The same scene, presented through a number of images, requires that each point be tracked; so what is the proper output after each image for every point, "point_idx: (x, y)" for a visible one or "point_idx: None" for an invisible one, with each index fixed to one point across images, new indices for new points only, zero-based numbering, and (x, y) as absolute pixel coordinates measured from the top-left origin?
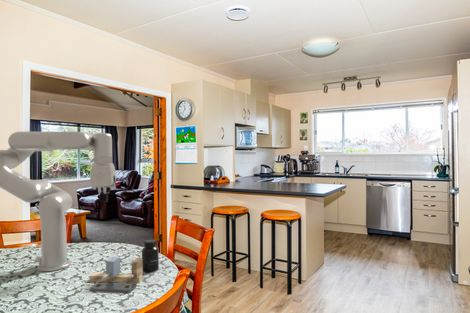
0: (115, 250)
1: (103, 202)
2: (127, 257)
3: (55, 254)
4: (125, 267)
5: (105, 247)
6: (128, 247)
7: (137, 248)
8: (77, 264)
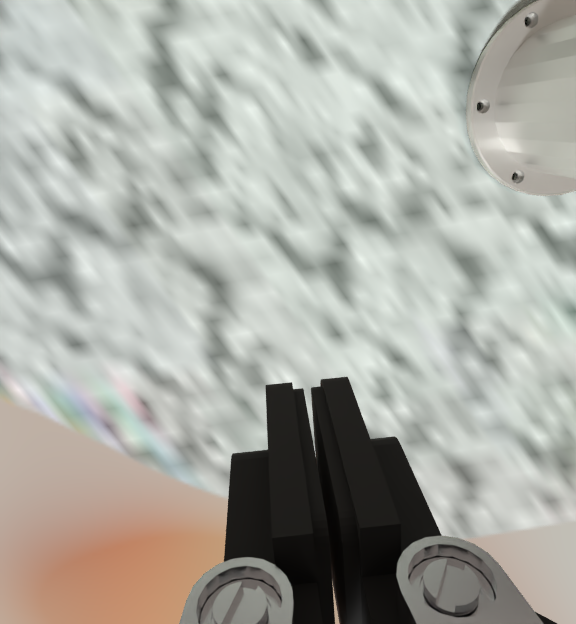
0: None
1: (274, 386)
2: (202, 334)
3: (571, 30)
4: (93, 169)
5: (445, 464)
6: None
7: None
8: (433, 165)
